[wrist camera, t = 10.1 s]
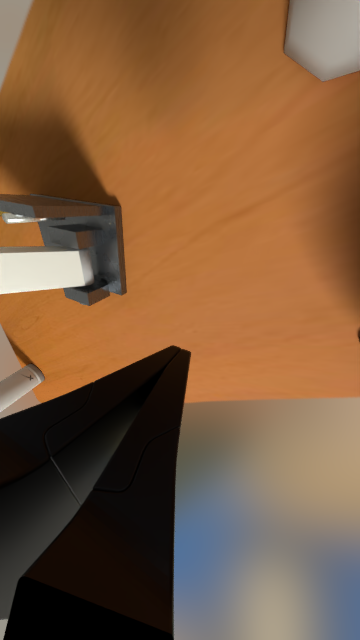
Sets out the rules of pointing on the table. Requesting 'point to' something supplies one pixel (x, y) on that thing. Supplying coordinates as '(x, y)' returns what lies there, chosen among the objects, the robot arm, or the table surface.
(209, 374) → the table surface
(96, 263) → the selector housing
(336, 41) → the flask
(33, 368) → the travel mug
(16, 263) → the selector lever
